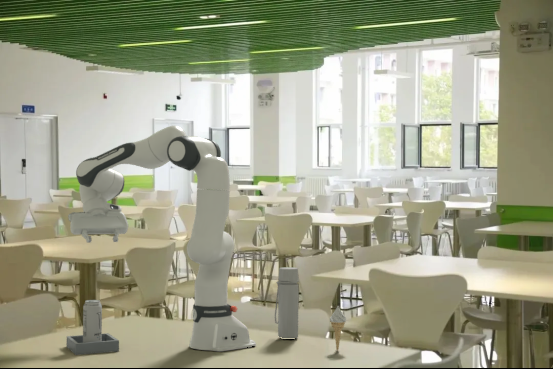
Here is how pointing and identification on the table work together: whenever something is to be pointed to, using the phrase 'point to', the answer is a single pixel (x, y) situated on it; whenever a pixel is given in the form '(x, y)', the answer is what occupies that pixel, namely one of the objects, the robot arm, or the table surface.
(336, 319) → the ice cream cone
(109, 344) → the gray tray
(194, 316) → the robot arm
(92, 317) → the energy drink can
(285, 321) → the water bottle
